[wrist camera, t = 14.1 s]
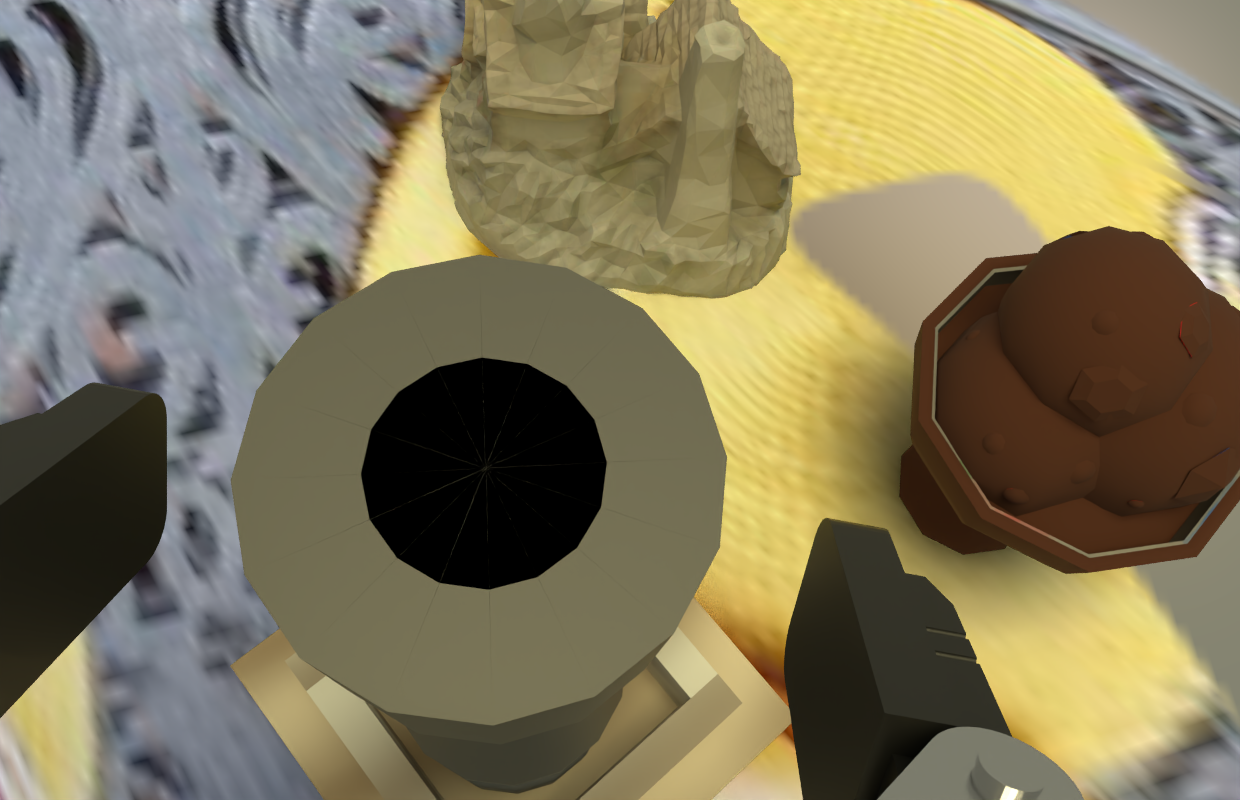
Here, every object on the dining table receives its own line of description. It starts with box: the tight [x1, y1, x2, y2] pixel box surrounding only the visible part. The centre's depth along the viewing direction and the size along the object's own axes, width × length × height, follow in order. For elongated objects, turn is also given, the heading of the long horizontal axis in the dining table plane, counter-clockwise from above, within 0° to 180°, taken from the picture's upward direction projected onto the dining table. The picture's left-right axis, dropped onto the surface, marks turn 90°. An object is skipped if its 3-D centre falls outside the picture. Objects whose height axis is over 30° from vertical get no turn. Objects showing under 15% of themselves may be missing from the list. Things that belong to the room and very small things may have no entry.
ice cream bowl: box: [899, 226, 1240, 574], centre depth 33 cm, size 11×11×15 cm
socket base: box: [230, 597, 791, 800], centre depth 34 cm, size 14×14×4 cm
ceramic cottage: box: [440, 0, 801, 298], centre depth 39 cm, size 16×16×15 cm
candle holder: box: [231, 255, 727, 794], centre depth 23 cm, size 6×6×25 cm
